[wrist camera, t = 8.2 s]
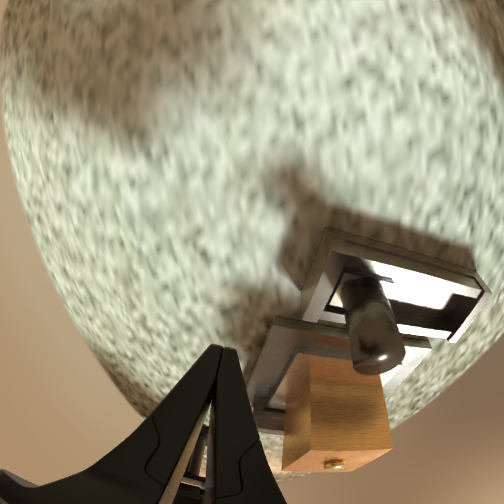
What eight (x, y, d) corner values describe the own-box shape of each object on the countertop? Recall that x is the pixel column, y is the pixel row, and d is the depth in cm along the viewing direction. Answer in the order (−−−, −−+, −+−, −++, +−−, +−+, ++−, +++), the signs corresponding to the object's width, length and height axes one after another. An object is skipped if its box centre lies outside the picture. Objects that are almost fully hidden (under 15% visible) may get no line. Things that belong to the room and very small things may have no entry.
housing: (379, 374, 17) (393, 454, 12) (346, 408, 20) (351, 475, 15) (309, 366, 17) (310, 456, 12) (285, 403, 20) (281, 475, 15)
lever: (372, 302, 14) (393, 377, 10) (326, 293, 14) (337, 372, 10) (390, 271, 13) (421, 345, 9) (342, 259, 13) (362, 337, 9)
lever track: (445, 319, 16) (455, 342, 14) (300, 292, 16) (301, 320, 14) (476, 271, 14) (492, 293, 12) (325, 227, 13) (332, 250, 12)
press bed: (362, 411, 23) (365, 438, 20) (241, 397, 23) (236, 428, 20) (428, 340, 17) (441, 374, 14) (273, 315, 17) (270, 357, 14)
